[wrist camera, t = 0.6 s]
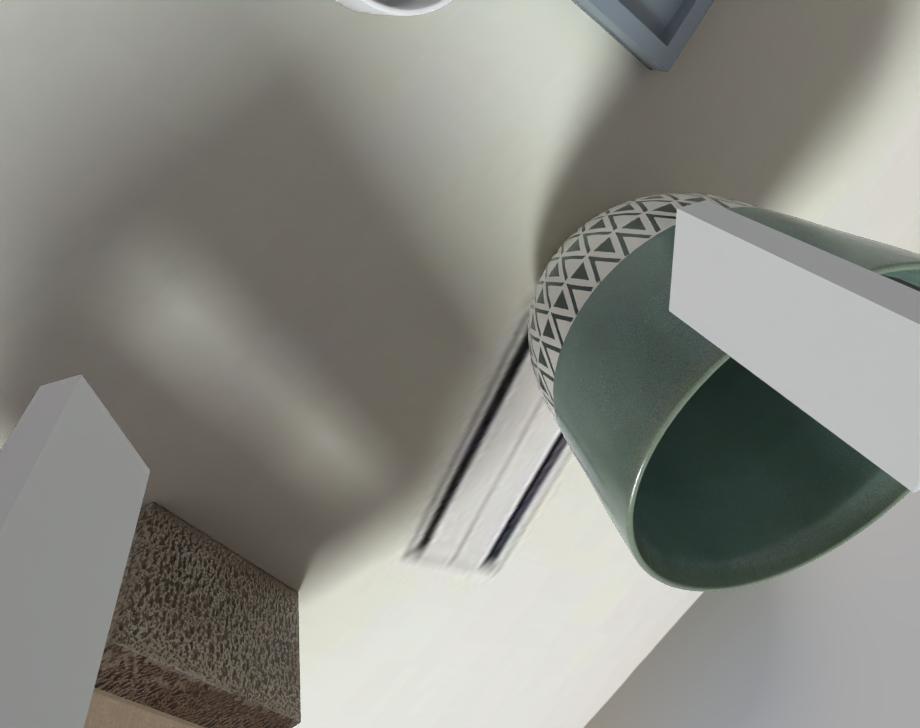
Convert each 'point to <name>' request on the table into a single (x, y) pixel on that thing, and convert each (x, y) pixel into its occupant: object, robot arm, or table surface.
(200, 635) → the lamp
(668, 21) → the tray
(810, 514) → the planter
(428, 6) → the mug
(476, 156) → the table surface
